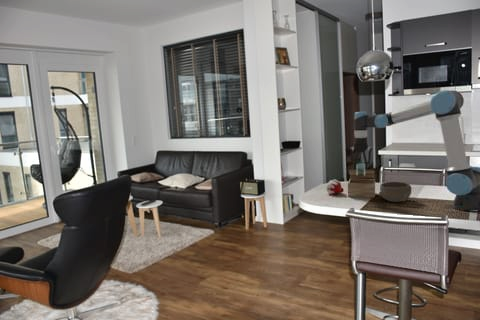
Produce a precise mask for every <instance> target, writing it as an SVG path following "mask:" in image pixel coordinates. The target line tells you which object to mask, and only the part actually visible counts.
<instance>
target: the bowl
mask: <svg viewBox="0 0 480 320" xmlns="http://www.w3.org/2000/svg"><path fill="white" fill-rule="evenodd" d="M412 189H413V188H412V187H411V185H410V183H408V182H402V181H401V182H400V181H389V182H387V181H386V182H382V183H380V187H379V192H378V194H379V196H380V197H382V198H383V200H385V201H386V202H390V203H402V202H405V201H407V200H408V199H409V198H410V196H411V195H412Z"/></svg>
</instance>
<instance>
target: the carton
mask: <svg viewBox="0 0 480 320" xmlns="http://www.w3.org/2000/svg"><path fill="white" fill-rule="evenodd" d="M375 196H376V179H350V178H349V180H348V182H347V198H363V199H365V198H367V199H369V198H370V199H375Z"/></svg>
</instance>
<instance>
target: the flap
mask: <svg viewBox="0 0 480 320" xmlns="http://www.w3.org/2000/svg"><path fill="white" fill-rule="evenodd" d="M357 164H358V168H357V169H358V175H356V170H355V169H348V173H349V177H350V178H349V180H350V179H371V180H376V178H375V170H374V169H367V170H365V176H364V164H365V163H357Z"/></svg>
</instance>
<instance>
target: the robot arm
mask: <svg viewBox="0 0 480 320" xmlns="http://www.w3.org/2000/svg"><path fill="white" fill-rule="evenodd" d="M461 93H462V92H461ZM461 93H460V92H459V91H457V90H449V89H448V90H447V89H445V90H442V91H441V90H440V91H438V92H436V93H435V94H434V95H433V96H432V98H431V99H430V100H428V101H424V102H422V103H419V104H415V105H411V106H408V107H404V108H402V109H398V110H395V111H391V112H387V113H383V114H368V112H367V111H356V112H354V116H353V117H354V118H353V120H354V123H353V124H354V130H353V131H354V142H353V143H354V145H353V146H352V147H349V150H350V151H349V152H350V159H351V164H353V166H354V170H356V175H358V169H357V168H358V164H359V163H358V161H359V160H358V159H359V153H362V156H363V161H364V163H363V164H364V176H365V170H368V165H370V164H371V160H372V158H371V157H372V150H373V147H370V146H369V145H368V129H369V128H371V129H372V128H373V129H374V128H377V129H383V128H386V127H390V126H393V125H396V124H400V123H404V122H408V121H411V120H416V119H419V118H420V119H421V118H423V117H427V116H431V115H435V119H436V120H437V121H439V123H440V129H441V133H442V139H443V143H444V148H445V153H446V159H447V164H448V167H447V168H446V171H445V172H446V176H447V177H446V181H445V186H446V189H447V190H448V191H449V192H450V193H451V194H453V195H455V196H454V199H453V201H452V208H453V207H455V208H458V209H463V210H480V166H472V165H470V164H469V163H468V159H467V154H466V149H465V144H464V140H463V139H464V138H463V133H462V129H461V124H460V118H459V117H460V116H461V115H462V110H461V108H462V107H463V105H464V102H465V100H464V96H463V94H461ZM354 150H355V152H356V155H355V157H354ZM366 151H368V157H367V155H366V154H367V153H366ZM354 158H355V159H354ZM367 158H368V159H367ZM455 208H454V209H455ZM458 209H457V210H458ZM463 210H462V211H463Z"/></svg>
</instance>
